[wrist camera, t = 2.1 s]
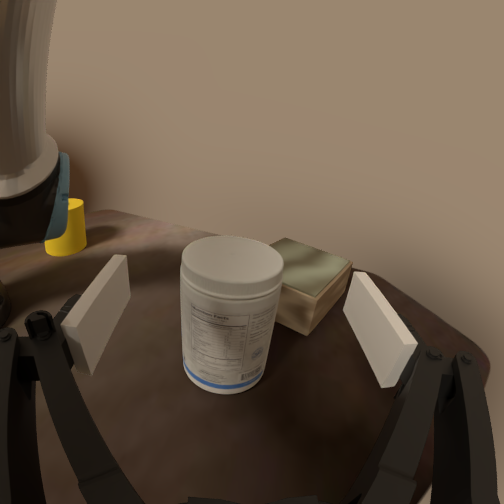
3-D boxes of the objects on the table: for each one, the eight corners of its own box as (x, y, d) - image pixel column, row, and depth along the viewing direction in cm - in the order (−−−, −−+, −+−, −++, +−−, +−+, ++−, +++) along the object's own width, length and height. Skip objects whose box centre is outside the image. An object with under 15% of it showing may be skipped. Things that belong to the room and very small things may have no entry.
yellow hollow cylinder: (60, 260, 49) (54, 215, 45) (38, 248, 52) (32, 207, 48) (95, 244, 58) (92, 202, 54) (70, 234, 61) (67, 196, 57)
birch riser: (192, 279, 50) (193, 245, 48) (247, 252, 62) (250, 224, 60) (307, 336, 39) (317, 298, 37) (344, 291, 52) (353, 260, 49)
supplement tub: (195, 334, 37) (198, 228, 31) (267, 347, 37) (286, 241, 31) (172, 388, 29) (163, 269, 23) (259, 405, 28) (284, 289, 22)
